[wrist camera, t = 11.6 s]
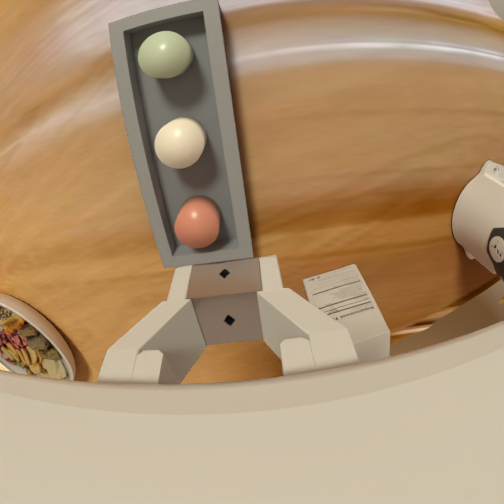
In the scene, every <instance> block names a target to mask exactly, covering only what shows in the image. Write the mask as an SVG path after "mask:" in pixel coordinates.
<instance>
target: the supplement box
mask: <svg viewBox="0 0 504 504" xmlns="http://www.w3.org/2000/svg"><path fill="white" fill-rule="evenodd" d="M303 284H304V288H305V292H306V296H307V299H308V302H310V303H311V304H312V305H314V306H315V307H317V308H318V309H320V310H321V311H323V312H324V313H325V314H327V315H328V316H330V317H331V318H333V319H334V320H336V321H337V322H338V323H340V324H341V325H343V326H344V327H346V328H347V329H348V332H349V334H350V337H351V340H352V343H353V346H354V348H355V351H356V354H357V357H358V360H359V363H364V362H369V361H373V360H378V359H382V358H386V357H389V352H390V330H389V328H388V326H387V324H386V322H385V320H384V318H383V316H382V314H381V312H380V310H379V308H378V306H377V304H376V302H375V300H374V298H373V296H372V294H371V292H370V290H369V289H368V287H367V285H366V283H365V281H364V279H363V277H362V275H361V274H360V272H359V270H358V268H357V266H356V264H352V265H349V266H346V267H343V268H339V269H336V270H333V271H330V272H326V273H323V274H320V275H317V276H313V277H310V278H307V279H304V280H303Z"/></svg>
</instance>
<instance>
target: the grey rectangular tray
mask: <svg viewBox="0 0 504 504" xmlns="http://www.w3.org/2000/svg"><path fill="white" fill-rule="evenodd" d="M108 25H109V33H110V41H111V48H112V55H113V62H114V68H115V74H116V80H117V86H118V91H119V97H120V102H121V107H122V112H123V117H124V122H125V127H126V131H127V136H128V140H129V144H130V149H131V153H132V157H133V161H134V165H135V169H136V173H137V177H138V181H139V185H140V189H141V192H142V196H143V200H144V203H145V207H146V210H147V214H148V217H149V221H150V224H151V227H152V231H153V234H154V237H155V241H156V244H157V247H158V250H159V253H160V256H161V259H162V263H163V266H164V268H170V267H179V266H187V265H195V264H204V263H212V262H220V261H228V260H237V259H245V258H253V246H252V237H251V230H250V223H249V215H248V208H247V201H246V194H245V187H244V179H243V172H242V165H241V158H240V150H239V143H238V136H237V129H236V122H235V115H234V107H233V100H232V93H231V86H230V79H229V72H228V65H227V57H226V50H225V43H224V36H223V29H222V22H221V15H220V8H219V2H218V0H191V1H186V2H182V3H177V4H173V5H169V6H164V7H161V8H157V9H153V10H149V11H146V12H142V13H139V14H136V15H133V16H129V17H126V18H123V19H120V20H118V21H115V22H112V23H109V24H108ZM161 31H171V32H175V33H177V34H179V35H180V36H182V37H183V38H185V39H186V40H187V41H188V42H189V43H190V44H191V45H192V47H193V50H194V60H193V63H192V65H191V67H190V68H189V69H188V70H187V71H186V72H185V73H184V74H182V75H180V76H178V77H175V78H154V77H151V76H149V75H147V74H146V73H145V72H144V71H143V70H142V69H141V67H140V65H139V62H138V53H139V49H140V47H141V45H142V44H143V42H144V41H145V40H146V39H147V38H148V37H149V36H151V35H153V34H155V33H157V32H161ZM183 116H187V117H192V118H195V119H197V120H198V121H200V122H201V123H202V125H203V126H204V128H205V130H206V133H207V142H206V145H205V148H204V150H203V152H202V154H201V156H200V157H199V159H198V160H197V161H196V162H195V163H194V164H192V165H191V166H189V167H186V168H181V169H176V168H171V167H169V166H167V165H165V164H164V163H162V162H161V161H160V159H159V158H158V156H157V154H156V152H155V145H154V144H155V138H156V135H157V133H158V132H159V130H160V129H161V128H162V127H163V126H165V125H166V124H168V123H169V122H171V121H172V120H174V119H176V118H178V117H183ZM196 195H203V196H207V197H209V198H211V199H213V200H214V201H215V202H216V203H217V205H218V206H219V209H220V213H221V215H220V225H219V233H218V236H217V238H216V240H215V241H214V242H213V243H212V244H210V245H209V246H207V247H204V248H192V247H189V246H187V245H185V244H183V243H182V242H181V241H180V240H179V239H178V237H177V236H176V233H175V228H174V226H175V221H176V219H177V216H178V214H179V211H180V209H181V206H182V204H183V203H184V202H185V201H186V200H187V199H188V198H190V197H192V196H196Z"/></svg>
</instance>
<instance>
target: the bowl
mask: <svg viewBox="0 0 504 504" xmlns="http://www.w3.org/2000/svg"><path fill="white" fill-rule="evenodd" d="M0 363H1V364H2V365H4V366H5V367H6V368H7V369H9V370H10V371H11V372H14V373H20V374H26V375H33V376H39V377H47V378H55V379H64V380H73V381H74V378H75V372H76V367H75V361H74V357H73V355H72V352H71V350H70V348H69V346H68V344H67V343H66V341H65V340H64V338H63V337H62V336H61V334H60V333H59V332H58V331H57V330H56V328H55V327H54V326H53V325H52V324H51V323H50V322H49V321H48V320H47V319H46V318H44V317H43V316H42V315H41V314H40V313H39V312H37V311H36V310H35V309H33V308H32V307H30V306H29V305H27V304H26V303H24V302H22V301H21V300H19V299H17V298H15V297H12V296H10V295H7V294H3V293H0Z"/></svg>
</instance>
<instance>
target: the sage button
mask: <svg viewBox="0 0 504 504" xmlns="http://www.w3.org/2000/svg"><path fill="white" fill-rule="evenodd" d="M193 60H194V50H193V47H192V45H191V44H190V43H189V42H188V41H187V40H186V39H185V38H183V37H182V36H180V35H179V34H177V33H175V32H171V31H161V32H157V33H155V34H153V35H151V36H149V37H148V38H147V39H146V40H145V41H144V42H143V44H142V45H141V47H140V49H139V53H138V62H139V65H140V67H141V69H142V70H143V71H144V72H145V73H146V74H147V75H149V76H151V77H154V78H175V77H178V76H180V75H182V74H184V73H185V72H186V71H187V70H188V69H189V68H190V67H191V65H192V63H193Z"/></svg>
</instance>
